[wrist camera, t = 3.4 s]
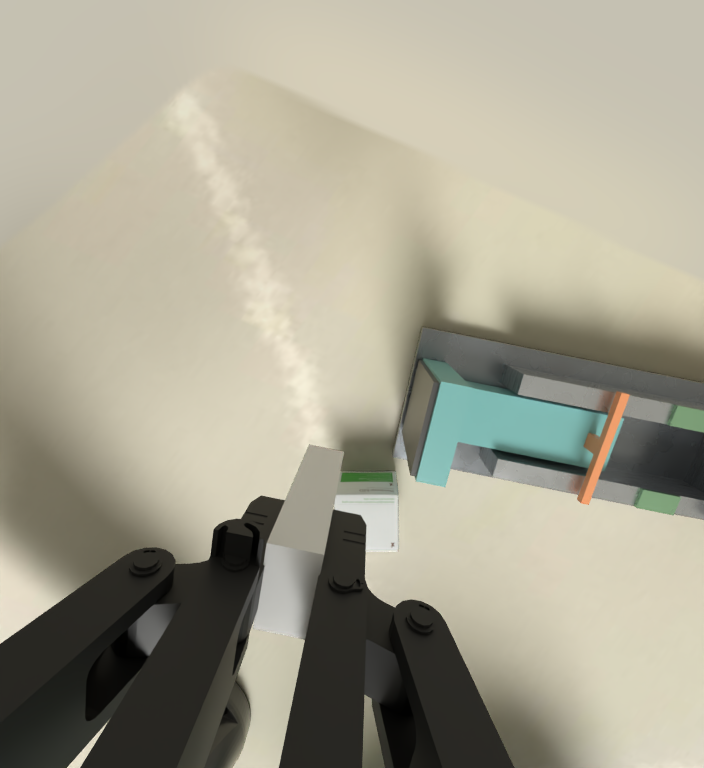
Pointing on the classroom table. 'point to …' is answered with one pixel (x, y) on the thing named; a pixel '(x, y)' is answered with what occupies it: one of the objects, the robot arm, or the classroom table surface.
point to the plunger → (501, 426)
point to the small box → (372, 506)
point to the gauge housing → (593, 391)
